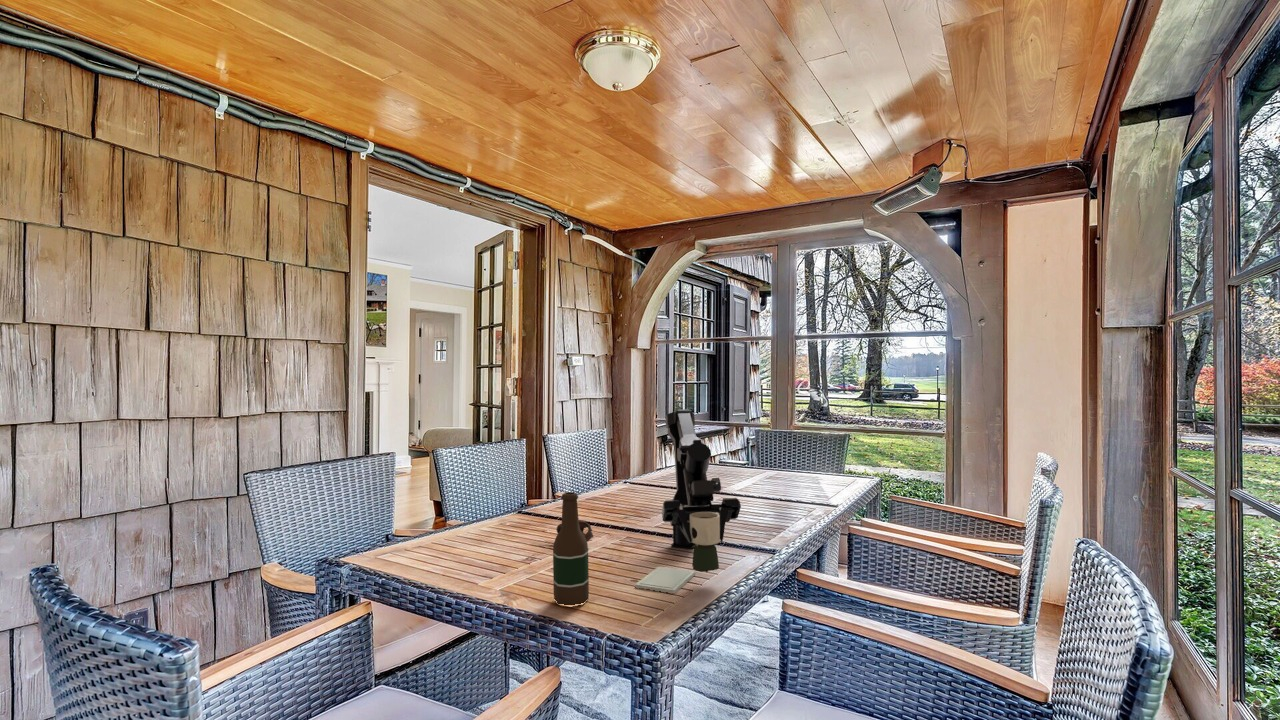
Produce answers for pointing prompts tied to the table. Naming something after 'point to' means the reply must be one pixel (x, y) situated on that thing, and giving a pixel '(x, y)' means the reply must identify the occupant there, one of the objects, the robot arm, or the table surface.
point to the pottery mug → (582, 526)
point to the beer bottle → (570, 556)
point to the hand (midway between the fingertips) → (706, 541)
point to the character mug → (705, 540)
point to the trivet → (665, 579)
